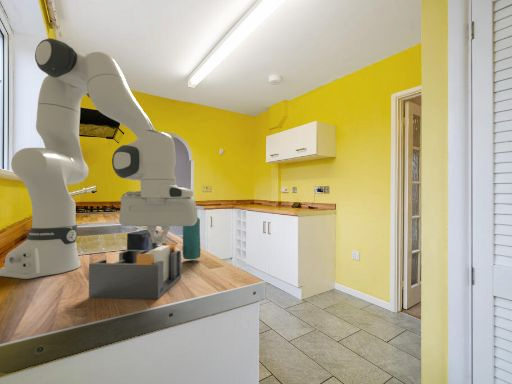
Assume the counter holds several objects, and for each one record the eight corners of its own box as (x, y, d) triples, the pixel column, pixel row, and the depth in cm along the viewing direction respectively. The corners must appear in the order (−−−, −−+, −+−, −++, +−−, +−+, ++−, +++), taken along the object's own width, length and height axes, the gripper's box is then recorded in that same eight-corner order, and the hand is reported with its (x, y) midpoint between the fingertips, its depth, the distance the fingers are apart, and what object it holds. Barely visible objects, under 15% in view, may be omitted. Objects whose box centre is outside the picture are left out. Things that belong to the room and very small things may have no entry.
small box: (141, 262, 88) (141, 233, 88) (125, 261, 90) (125, 233, 90) (158, 255, 99) (158, 229, 99) (144, 254, 100) (144, 229, 100)
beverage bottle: (204, 260, 92) (204, 207, 92) (192, 264, 86) (192, 207, 86) (190, 258, 95) (190, 206, 95) (178, 262, 89) (178, 207, 89)
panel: (143, 290, 60) (143, 253, 60) (161, 276, 70) (161, 245, 70) (153, 290, 60) (153, 254, 60) (169, 276, 70) (170, 245, 70)
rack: (88, 297, 58) (89, 254, 59) (125, 276, 73) (125, 241, 74) (158, 299, 58) (158, 255, 58) (180, 277, 73) (181, 242, 73)
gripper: (113, 191, 63) (113, 245, 63) (191, 190, 62) (192, 245, 62) (127, 191, 69) (128, 240, 69) (198, 190, 68) (199, 240, 68)
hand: (158, 242), depth 65 cm, fingers closed
